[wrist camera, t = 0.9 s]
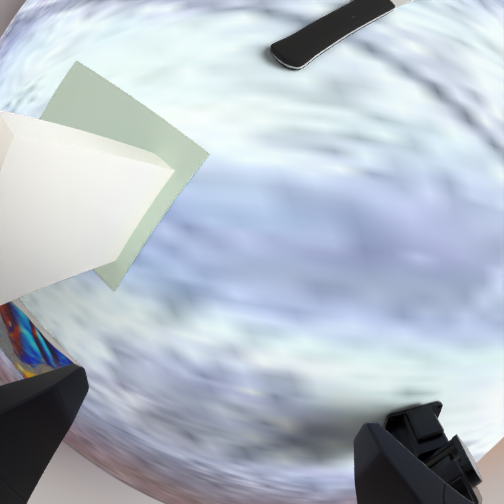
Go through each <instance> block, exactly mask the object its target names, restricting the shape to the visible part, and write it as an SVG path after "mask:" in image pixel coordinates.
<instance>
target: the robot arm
mask: <svg viewBox="0 0 504 504" xmlns="http://www.w3.org/2000/svg"><path fill="white" fill-rule="evenodd" d="M88 389H89V384H88V380H87V376H86V372H85V369H84V368H83V367H81V366H79V365H77V364H70V365H67V366H64V367H61V368H58V369H54V370H51V371H48V372H45V373H42V374H39V375H35V376H32V377H29V378H26V379H22V380H19V381H15V382H12V383H8V384H5V385H2V386H0V504H27V502H28V500H29V498H30V496H31V494H32V492H33V490H34V488H35V487H36V485H37V483H38V481H39V479H40V478H41V476H42V474H43V472H44V470H45V469H46V467H47V465H48V463H49V462H50V460H51V458H52V456H53V455H54V453H55V451H56V450H57V448H58V446H59V445H60V443H61V441H62V440H63V438H64V437H65V435H66V433H67V432H68V430H69V428H70V427H71V425H72V423H73V421H74V419H75V417H76V415H77V413H78V411H79V409H80V407H81V405H82V402H83V400H84V398H85V396H86V394H87V392H88ZM442 406H443V405H442V403H441V402H436V403H433V404H429V405H426V406H422V407H418V408H414V409H410V410H406V411H402V412H397V413H392V414H390V415H388V416H387V418H386V421H385V425H384V428H383V427H382V426H381V425H380V424H379V423H377V422H366V423H365V424H363V426H362V428H361V429H360V431H359V432H358V434H357V436H356V437H355V439H354V477H355V489H356V496H357V504H481V503H482V496H481V494H480V492H479V490H478V488H477V485H478V484H480V483H481V482H482V478H481V475H480V473H479V470H478V468H477V465H476V462H475V460H474V459H473V457H472V455H471V454H470V452H469V450H468V448H467V447H466V446H465V444H464V443H463V442H462V441H461V439H460V438H459V437H458V436H457V434H456V435H455V436H454V437H453V438H452V439H451V440H450V441H448V439H447V437H446V435H445V433H444V429H443V427H442V426H441V424H440V422H439V420H438V417H439V414H440V412H441V409H442Z"/></svg>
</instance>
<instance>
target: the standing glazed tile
mask: <svg viewBox="0 0 504 504" xmlns="http://www.w3.org/2000/svg"><path fill="white" fill-rule="evenodd" d="M174 171H175V170H174V169H173V168H171V167H170V166H169V165H168V164H167V163H165V162H164V161H163V160H162V159H160V158H159V157H158V156H157V155H156V154H154V153H152V152H149V151H146V150H143V149H140V148H137V147H134V146H131V145H128V144H125V143H122V142H119V141H115V140H112V139H109V138H106V137H102V136H99V135H96V134H92V133H89V132H85V131H82V130H78V129H75V128H71V127H67V126H64V125H60V124H56V123H52V122H48V121H44V120H40V119H36V118H32V117H28V116H23V115H19V114H14V113H10V112H5V111H0V305H3V304H5V303H7V302H10V301H12V300H15V299H17V298H19V297H22V296H24V295H27V294H29V293H32V292H34V291H37V290H39V289H42V288H44V287H47V286H49V285H52V284H55V283H57V282H60V281H62V280H65V279H68V278H70V277H73V276H75V275H78V274H81V273H83V272H86V271H89V270H92V269H94V268H97V267H100V266H102V265H105V264H108V263H111V262H114V261H116V260H117V258H118V256H119V255H120V253H121V251H122V249H123V248H124V246H125V244H126V243H127V241H128V240H129V238H130V236H131V235H132V233H133V231H134V230H135V228H136V227H137V225H138V224H139V222H140V221H141V219H142V217H143V216H144V214H145V213H146V211H147V210H148V208H149V207H150V205H151V204H152V202H153V201H154V200H155V198H156V197H157V195H158V194H159V192H160V191H161V189H162V188H163V187H164V185H165V184H166V182H167V181H168V180H169V178H170V177H171V176H172V174H173V173H174Z"/></svg>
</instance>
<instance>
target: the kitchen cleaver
mask: <svg viewBox="0 0 504 504" xmlns="http://www.w3.org/2000/svg"><path fill="white" fill-rule="evenodd" d="M411 1H414V0H354V1H352V2H351V3H349V4H347V5H345V6H343V7H341V8H339V9H337V10H335V11H333V12H332V13H330V14H328V15H326V16H324V17H322V18H321V19H319V20H317V21H315V22H313V23H312V24H310V25H308V26H306V27H305V28H303V29H301V30H300V31H298V32H296V33H294V34H293V35H291V36H289V37H287V38H285V39H282V40H280V41H278V42H275V43H274V44H272V45H271V53H272V55H273V57H274V58H275V59H276V60H277V61H278V62H279V63H280V64H282V65H283V66H284V67H286V68H289V69H293V70H300V69H302V68H304V67H305V66H306V65H308V64H309V63H310V62H311V61H312V60H314V59H315V58H316V57H318V56H319V55H321V54H322V53H324V52H325V51H327V50H328V49H329V48H331V47H332V46H334V45H335V44H337V43H338V42H340V41H341V40H343V39H345V38H346V37H348V36H349V35H351V34H353V33H354V32H356V31H358V30H359V29H361V28H363V27H365V26H367V25H368V24H370V23H372V22H374V21H376V20H377V19H379V18H381V17H383V16H384V15H386V14H388V13H390V12H391V11H393V10H394V9H395V8H397V7H399V6H402V5H404V4H407V3H409V2H411Z"/></svg>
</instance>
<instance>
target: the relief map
mask: <svg viewBox="0 0 504 504" xmlns="http://www.w3.org/2000/svg"><path fill="white" fill-rule="evenodd" d="M0 348H1V349H2V350H3V352H4V353H5V354H6V356H7V357H8V358H9V360H10V361H11V362H12V363H13V365H14V366H15V368H16V369H17V371H18V372H19V373H20V374H21V375H22V376H23V377H24V379H26V378H29V377H32V376H35V375H39V374H42V373H45V372H48V371H51V370H54V369H58V368H61V367H64V366H67V365H70V364H77V365H79V366H81V367H82V365H81V364H80V363H78V362H77V361H76V360H75V359H74V358H73V357H72V356H71V355H70V354H69V353H68V352H67V351H66V350H65V349H64V348H63V347H62V346H61V345H60V344H59V343H58V342H57V341H56V340H55V339H54V338H53V337H52V336H51V335H50V334H49V333H48V332H47V331H46V330H45V328H44V327H43V326H42V325H41V324H40V323H39V322H38V321H37V320H36V318H35V317H34V316H33V315H32V314H31V313H30V311H29V310H28V309H27V308H26V307H25V305H24V304H23V303H22V302H21V300H20V299H19V298H17V299H15V300H12V301H10V302H7V303H5V304H3V305H0Z"/></svg>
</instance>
